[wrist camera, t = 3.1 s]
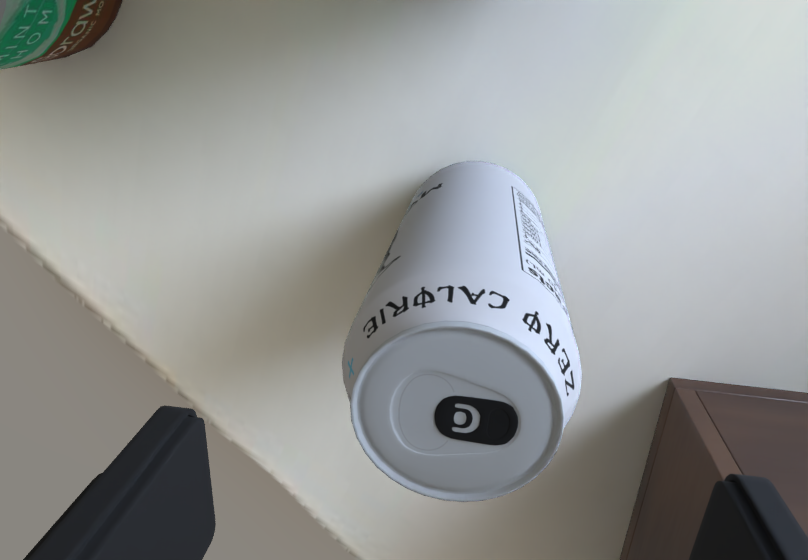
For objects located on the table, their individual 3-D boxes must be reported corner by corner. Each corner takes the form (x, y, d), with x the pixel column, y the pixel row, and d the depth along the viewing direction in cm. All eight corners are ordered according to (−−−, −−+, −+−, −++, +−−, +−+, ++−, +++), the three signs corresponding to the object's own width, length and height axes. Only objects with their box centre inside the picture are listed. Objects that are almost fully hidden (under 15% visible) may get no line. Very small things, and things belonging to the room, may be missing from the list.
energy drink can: (414, 150, 26) (326, 281, 12) (550, 163, 25) (621, 319, 11) (405, 273, 28) (322, 499, 14) (528, 288, 27) (565, 539, 14)
